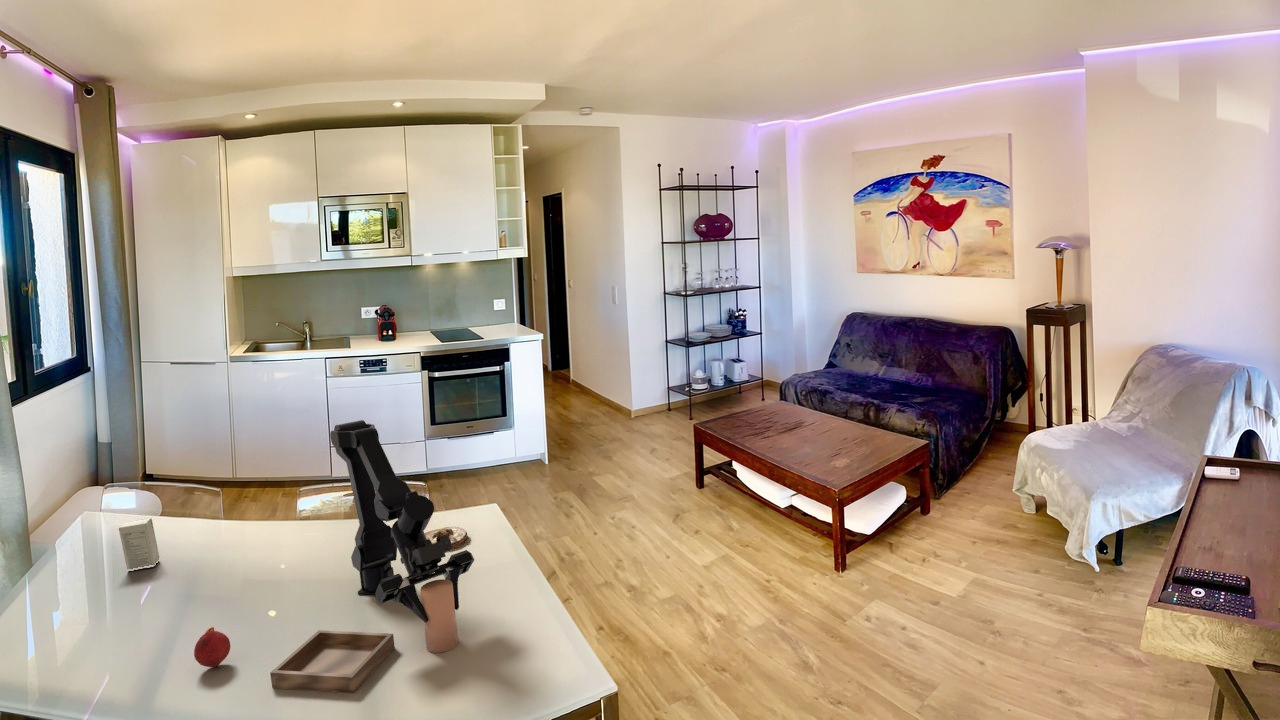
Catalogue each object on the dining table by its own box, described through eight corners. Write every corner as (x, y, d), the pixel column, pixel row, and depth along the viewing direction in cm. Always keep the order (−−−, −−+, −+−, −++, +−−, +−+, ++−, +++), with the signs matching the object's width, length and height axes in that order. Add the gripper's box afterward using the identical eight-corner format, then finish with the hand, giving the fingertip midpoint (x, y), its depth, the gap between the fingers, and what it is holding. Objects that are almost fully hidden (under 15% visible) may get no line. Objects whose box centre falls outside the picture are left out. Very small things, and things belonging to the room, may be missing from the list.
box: (272, 688, 123) (270, 672, 123) (320, 644, 137) (318, 630, 136) (353, 693, 120) (352, 677, 120) (394, 647, 134) (393, 633, 134)
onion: (215, 677, 127) (209, 637, 126) (189, 675, 128) (183, 635, 127) (239, 659, 133) (234, 620, 132) (214, 657, 134) (208, 619, 133)
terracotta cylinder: (420, 652, 132) (414, 593, 130) (435, 635, 138) (429, 578, 136) (450, 653, 131) (444, 594, 129) (463, 636, 137) (457, 579, 135)
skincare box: (160, 561, 181) (153, 517, 179) (155, 568, 177) (147, 523, 175) (132, 565, 179) (124, 521, 177) (125, 572, 175) (117, 527, 173)
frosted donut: (414, 538, 189) (412, 523, 188) (469, 529, 193) (468, 514, 193) (414, 560, 175) (413, 544, 174) (474, 549, 180) (473, 534, 179)
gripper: (374, 540, 128) (404, 616, 121) (465, 512, 140) (497, 580, 133) (363, 567, 135) (391, 640, 128) (451, 538, 147) (481, 604, 140)
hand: (442, 615), depth 132 cm, fingers closed on terracotta cylinder, 6 cm apart
